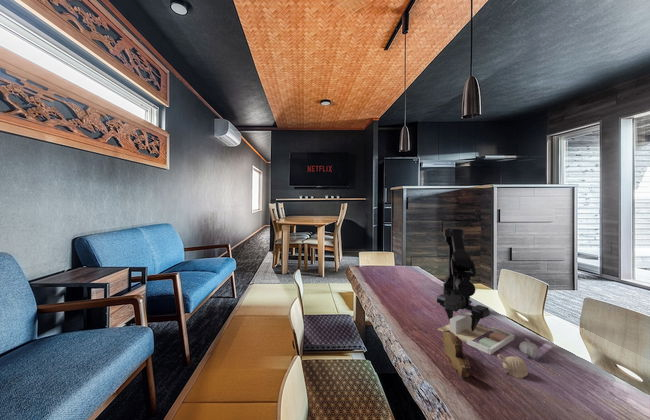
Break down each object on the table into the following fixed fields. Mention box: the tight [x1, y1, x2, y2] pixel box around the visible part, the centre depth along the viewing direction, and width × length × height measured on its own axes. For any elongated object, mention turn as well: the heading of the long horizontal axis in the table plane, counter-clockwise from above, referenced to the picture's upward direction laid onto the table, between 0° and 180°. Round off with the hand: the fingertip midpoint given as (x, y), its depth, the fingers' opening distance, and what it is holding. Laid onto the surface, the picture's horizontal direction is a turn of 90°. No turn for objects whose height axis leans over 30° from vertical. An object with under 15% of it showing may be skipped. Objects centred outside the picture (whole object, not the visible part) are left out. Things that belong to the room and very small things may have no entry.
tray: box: [466, 325, 516, 356], centre depth 92 cm, size 18×8×3 cm, turn 122°
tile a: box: [488, 331, 508, 342], centre depth 94 cm, size 4×4×2 cm
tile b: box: [478, 336, 498, 348], centre depth 90 cm, size 4×4×2 cm
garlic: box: [518, 338, 540, 360], centre depth 86 cm, size 6×5×5 cm
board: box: [437, 323, 491, 344], centre depth 101 cm, size 17×12×2 cm
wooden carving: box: [441, 330, 472, 378], centre depth 81 cm, size 16×5×10 cm, turn 179°
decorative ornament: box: [497, 353, 529, 379], centre depth 77 cm, size 4×8×5 cm, turn 73°
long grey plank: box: [449, 311, 472, 334], centre depth 102 cm, size 12×2×5 cm, turn 122°
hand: (461, 326), depth 102 cm, fingers open, 9 cm apart
